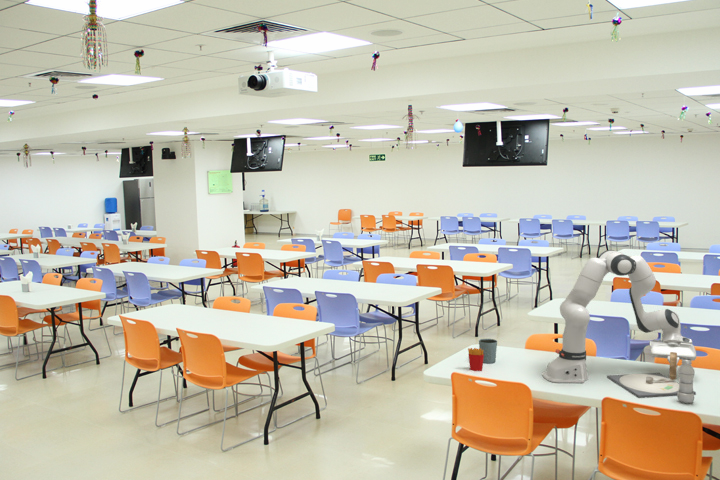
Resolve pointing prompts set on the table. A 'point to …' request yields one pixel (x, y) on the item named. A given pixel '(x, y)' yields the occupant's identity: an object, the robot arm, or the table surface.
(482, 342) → the grey bucket
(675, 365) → the needle lever
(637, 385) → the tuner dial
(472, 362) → the french fries
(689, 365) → the plastic bottle
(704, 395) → the table surface
